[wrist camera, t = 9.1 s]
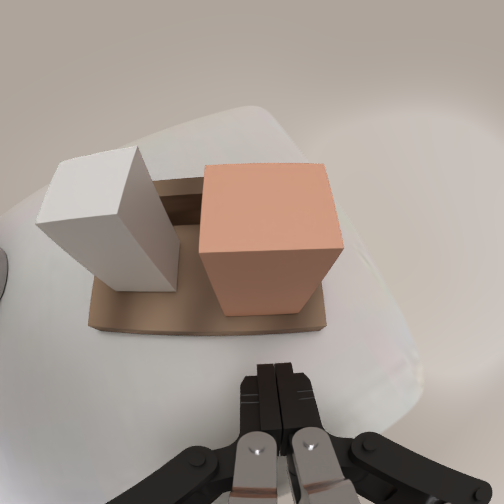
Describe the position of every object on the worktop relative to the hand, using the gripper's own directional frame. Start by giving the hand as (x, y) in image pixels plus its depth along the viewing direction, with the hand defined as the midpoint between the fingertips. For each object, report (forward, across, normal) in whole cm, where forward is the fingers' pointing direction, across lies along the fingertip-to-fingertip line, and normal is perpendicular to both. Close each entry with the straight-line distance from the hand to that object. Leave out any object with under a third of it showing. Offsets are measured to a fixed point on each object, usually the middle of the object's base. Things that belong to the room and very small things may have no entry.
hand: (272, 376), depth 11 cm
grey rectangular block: (+10, +9, -2) cm, 13 cm away
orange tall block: (+8, 0, 0) cm, 8 cm away
